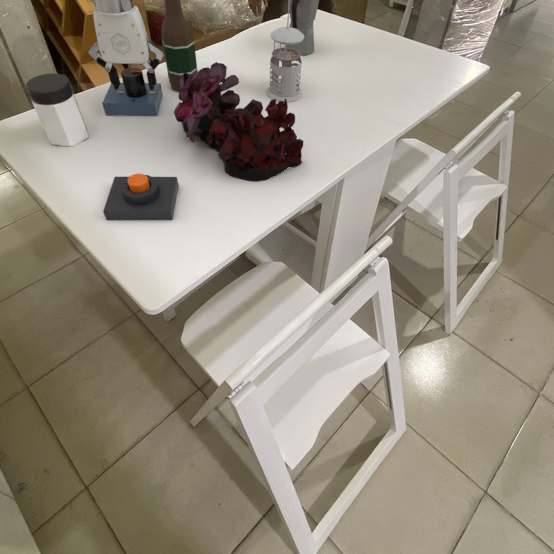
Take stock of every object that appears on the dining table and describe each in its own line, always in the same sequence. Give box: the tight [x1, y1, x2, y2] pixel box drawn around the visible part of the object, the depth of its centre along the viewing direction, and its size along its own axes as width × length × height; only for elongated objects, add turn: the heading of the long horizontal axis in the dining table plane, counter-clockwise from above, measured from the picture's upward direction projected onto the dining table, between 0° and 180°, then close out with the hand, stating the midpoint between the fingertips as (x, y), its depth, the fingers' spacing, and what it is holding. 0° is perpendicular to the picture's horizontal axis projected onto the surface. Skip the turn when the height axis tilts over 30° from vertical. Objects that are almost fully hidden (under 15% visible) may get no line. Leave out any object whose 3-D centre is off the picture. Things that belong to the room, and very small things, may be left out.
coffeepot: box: [287, 0, 320, 57], centre depth 114 cm, size 15×9×18 cm, turn 159°
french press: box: [265, 0, 304, 103], centre depth 96 cm, size 10×12×25 cm
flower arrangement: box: [173, 61, 304, 182], centre depth 83 cm, size 31×20×15 cm, turn 50°
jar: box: [25, 73, 90, 147], centre depth 84 cm, size 9×8×12 cm
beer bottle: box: [160, 0, 199, 93], centre depth 96 cm, size 8×8×24 cm
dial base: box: [101, 82, 164, 117], centre depth 97 cm, size 12×10×3 cm
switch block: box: [102, 174, 179, 221], centre depth 75 cm, size 12×10×4 cm
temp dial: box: [120, 67, 147, 98], centre depth 94 cm, size 5×5×5 cm
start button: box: [128, 173, 150, 193], centre depth 73 cm, size 4×4×2 cm
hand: (135, 86), depth 95 cm, fingers open, 7 cm apart
